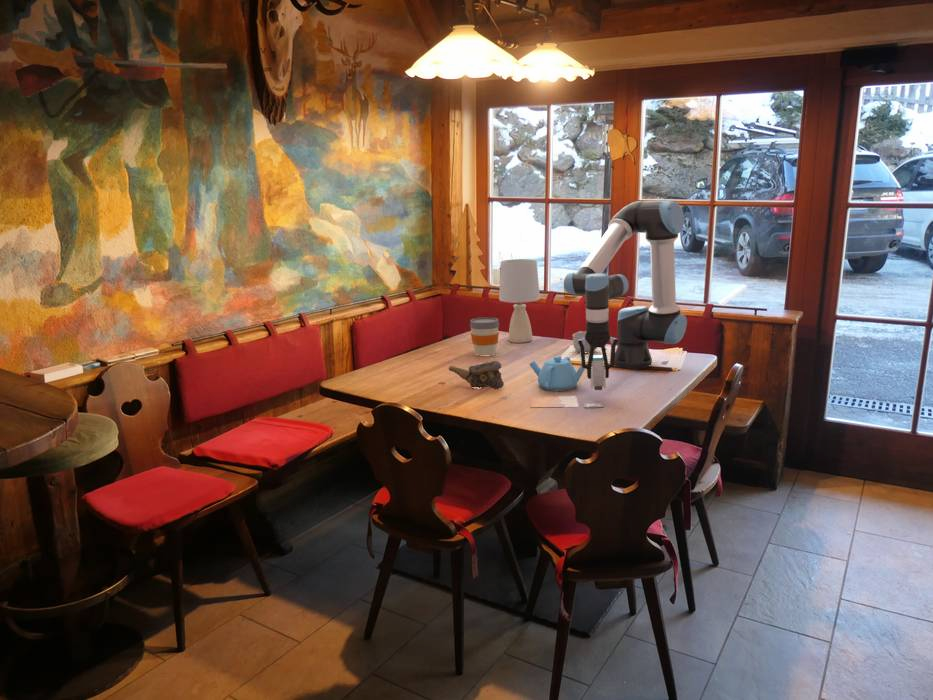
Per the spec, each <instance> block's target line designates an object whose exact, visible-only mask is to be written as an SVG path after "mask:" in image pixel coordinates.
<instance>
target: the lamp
mask: <svg viewBox="0 0 933 700" xmlns="http://www.w3.org/2000/svg"><path fill="white" fill-rule="evenodd" d="M499 268H500V271H499V274H500V275H499V291H498V292H499V295H498V297H499V298H498V299H499V301H500V302H505V303H515V304H513V306H512V307H513V308H514V310H513V312H512V315H511V318H510V321H509V322H510V323H509V330H508V338H507V339H508V341H509V342H510V343H513V344H525V343H530V342H532V341H533V332H532V327H531V321H530V318H529V315H528V313H527V312H528V311H527V310H526V307H527V305H526V304H523V303H529V302H530V303H531V302H536V301H538V300H540V298H541V297H540V296H541V295H540V285H539V284H540V283H539V274H538V260H536V259H529V258H525V259H524V258H518V259H516V258H515V259H506V260H501V261H500V267H499Z"/></svg>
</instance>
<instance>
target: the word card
mask: <svg viewBox="0 0 933 700" xmlns="http://www.w3.org/2000/svg"><path fill="white" fill-rule="evenodd" d="M583 406H584V409H604V405H603V403H599V402H598V403H595V402H593V403H583Z"/></svg>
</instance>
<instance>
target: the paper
mask: <svg viewBox="0 0 933 700" xmlns="http://www.w3.org/2000/svg"><path fill="white" fill-rule="evenodd" d="M558 397H559V398H558V399H560V400H561V401H563V402H559V403H561V404H565V405H564V406H565V407H564V408H579V402H578V398H577V396H575V395H570V396H569V395H568V396H567V395H566V396H560V395H559V396H558Z"/></svg>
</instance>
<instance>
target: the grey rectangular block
mask: <svg viewBox="0 0 933 700" xmlns="http://www.w3.org/2000/svg"><path fill="white" fill-rule="evenodd" d="M591 368H593V386H594V391H603V386H604V369H603V368H604V358H603V355H602V354H597V355H596V354H594V355H593V361H592V367H591Z"/></svg>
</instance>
